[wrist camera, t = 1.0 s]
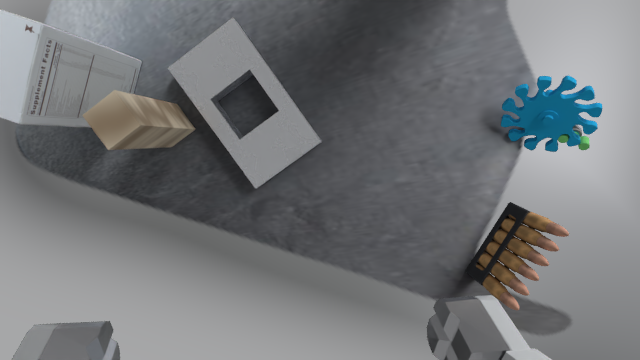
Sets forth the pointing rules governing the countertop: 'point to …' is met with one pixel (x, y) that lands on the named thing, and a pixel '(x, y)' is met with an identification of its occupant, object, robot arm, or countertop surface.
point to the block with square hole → (222, 78)
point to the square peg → (137, 122)
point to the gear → (552, 115)
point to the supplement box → (56, 73)
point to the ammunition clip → (504, 239)
